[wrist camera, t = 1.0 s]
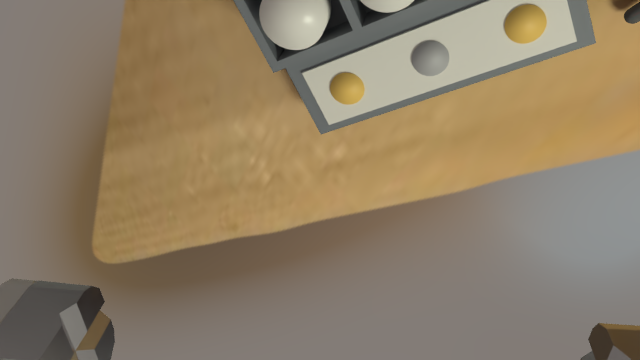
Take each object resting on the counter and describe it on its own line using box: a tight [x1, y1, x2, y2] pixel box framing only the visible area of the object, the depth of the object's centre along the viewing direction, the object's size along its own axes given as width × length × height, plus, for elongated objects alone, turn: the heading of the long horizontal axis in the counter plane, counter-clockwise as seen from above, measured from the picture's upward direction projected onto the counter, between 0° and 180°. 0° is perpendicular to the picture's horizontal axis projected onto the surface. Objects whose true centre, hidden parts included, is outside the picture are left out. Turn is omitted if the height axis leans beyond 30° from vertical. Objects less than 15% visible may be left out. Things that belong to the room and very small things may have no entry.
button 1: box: [259, 0, 331, 50], centre depth 33 cm, size 4×4×2 cm
